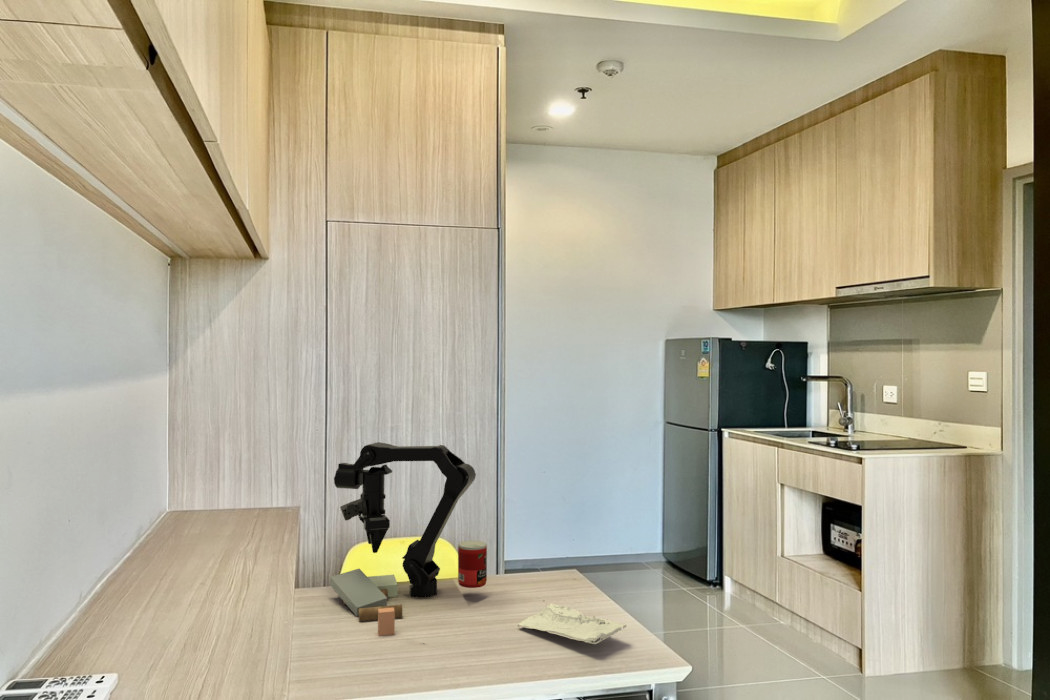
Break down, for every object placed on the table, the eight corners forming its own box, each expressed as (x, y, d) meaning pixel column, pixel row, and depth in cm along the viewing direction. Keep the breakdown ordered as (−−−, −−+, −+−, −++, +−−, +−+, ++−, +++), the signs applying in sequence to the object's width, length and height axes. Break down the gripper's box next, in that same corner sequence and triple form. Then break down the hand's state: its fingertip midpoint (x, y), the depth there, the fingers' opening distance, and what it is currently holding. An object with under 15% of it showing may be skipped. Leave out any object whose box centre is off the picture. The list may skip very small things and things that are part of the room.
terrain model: (602, 652, 152) (602, 628, 152) (511, 631, 164) (511, 608, 164) (631, 626, 166) (631, 605, 166) (545, 609, 178) (545, 589, 178)
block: (394, 585, 194) (394, 574, 194) (397, 596, 185) (397, 584, 185) (352, 589, 191) (352, 577, 191) (354, 600, 182) (354, 588, 182)
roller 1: (387, 586, 183) (387, 595, 181) (386, 594, 185) (387, 603, 182) (343, 589, 181) (343, 599, 178) (343, 598, 182) (343, 607, 180)
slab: (359, 576, 188) (359, 568, 187) (386, 606, 175) (387, 597, 175) (330, 585, 183) (330, 576, 182) (356, 616, 171) (356, 607, 170)
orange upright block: (393, 630, 162) (393, 607, 162) (394, 634, 160) (394, 611, 160) (377, 631, 161) (378, 608, 161) (378, 635, 159) (378, 612, 159)
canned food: (482, 589, 191) (482, 548, 191) (454, 587, 193) (454, 546, 193) (489, 580, 199) (489, 541, 199) (462, 578, 200) (462, 539, 200)
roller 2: (401, 619, 171) (400, 606, 173) (402, 615, 169) (401, 602, 171) (359, 623, 169) (358, 610, 170) (359, 620, 166) (359, 606, 168)
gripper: (339, 485, 197) (338, 541, 197) (346, 498, 179) (345, 560, 179) (380, 483, 200) (379, 538, 200) (390, 496, 183) (389, 556, 183)
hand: (372, 548), depth 190 cm, fingers open, 9 cm apart
